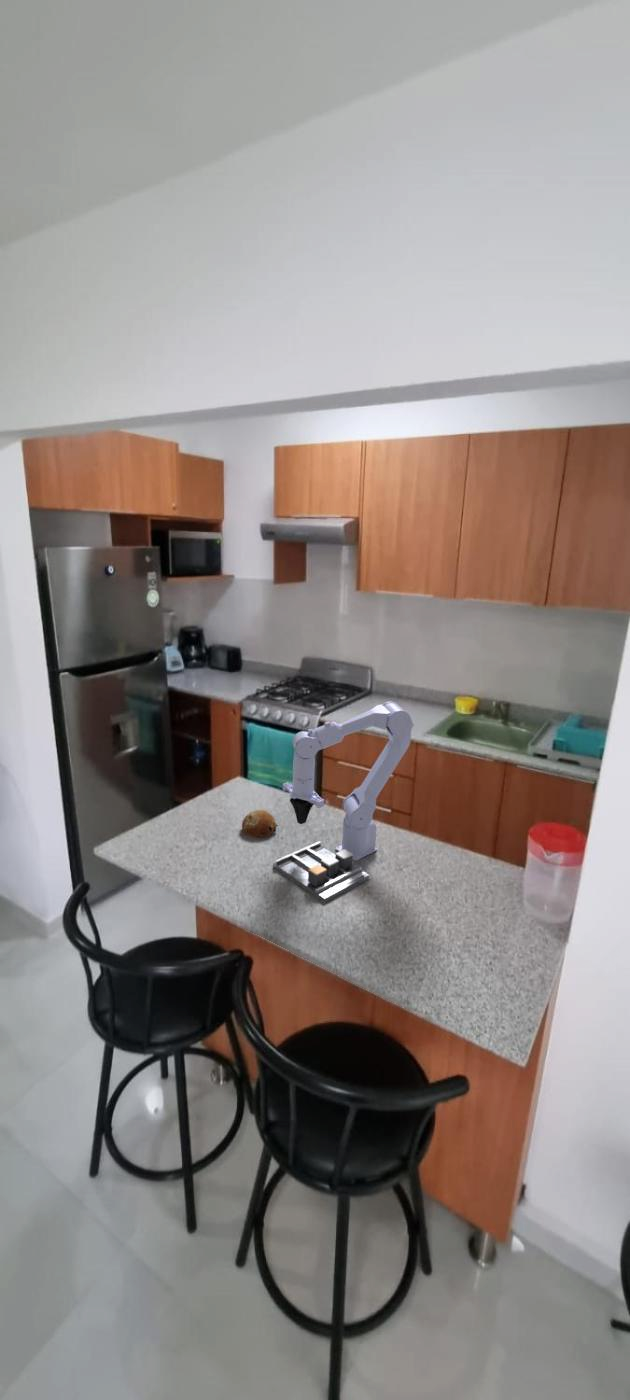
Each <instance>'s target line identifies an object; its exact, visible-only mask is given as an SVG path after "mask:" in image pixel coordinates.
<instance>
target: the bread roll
mask: <svg viewBox="0 0 630 1400" xmlns="http://www.w3.org/2000/svg"><path fill="white" fill-rule="evenodd" d="M241 823H242V824H241V828H242V831H243V833H244V834H245V835H246V836H248V837H252V838H256V839H261V838H262V839H263V838H268V837H270V836H271V835H273V834H274V833H277V830H276V829H277V827H278V823H277V822H276V818H275V817H274V816H273V815H272V814H271V813H270V812H269V811H268V810H267V809H266V810H265V809H255V810H253V811H251V812H249V813H247V814H246V816H244V818H243V820H242V822H241Z"/></svg>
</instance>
